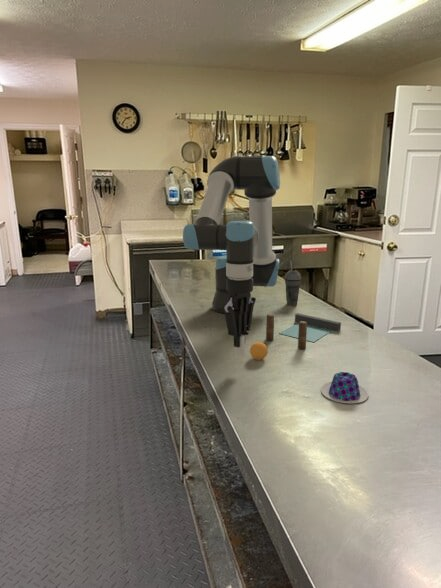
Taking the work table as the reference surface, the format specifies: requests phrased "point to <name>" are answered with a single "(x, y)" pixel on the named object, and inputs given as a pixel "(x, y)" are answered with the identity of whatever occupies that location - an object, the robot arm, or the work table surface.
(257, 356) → the ball
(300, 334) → the right post
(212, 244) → the robot arm
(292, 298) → the beverage cup
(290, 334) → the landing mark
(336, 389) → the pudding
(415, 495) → the work table surface
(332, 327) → the stopper wall
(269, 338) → the left post
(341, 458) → the work table surface
